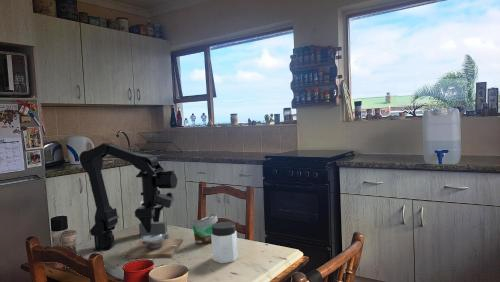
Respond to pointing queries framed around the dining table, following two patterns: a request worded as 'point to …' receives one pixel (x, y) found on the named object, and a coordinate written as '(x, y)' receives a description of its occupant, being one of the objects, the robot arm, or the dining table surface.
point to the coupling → (154, 233)
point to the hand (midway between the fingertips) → (153, 228)
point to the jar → (224, 242)
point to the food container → (204, 229)
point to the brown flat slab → (154, 249)
